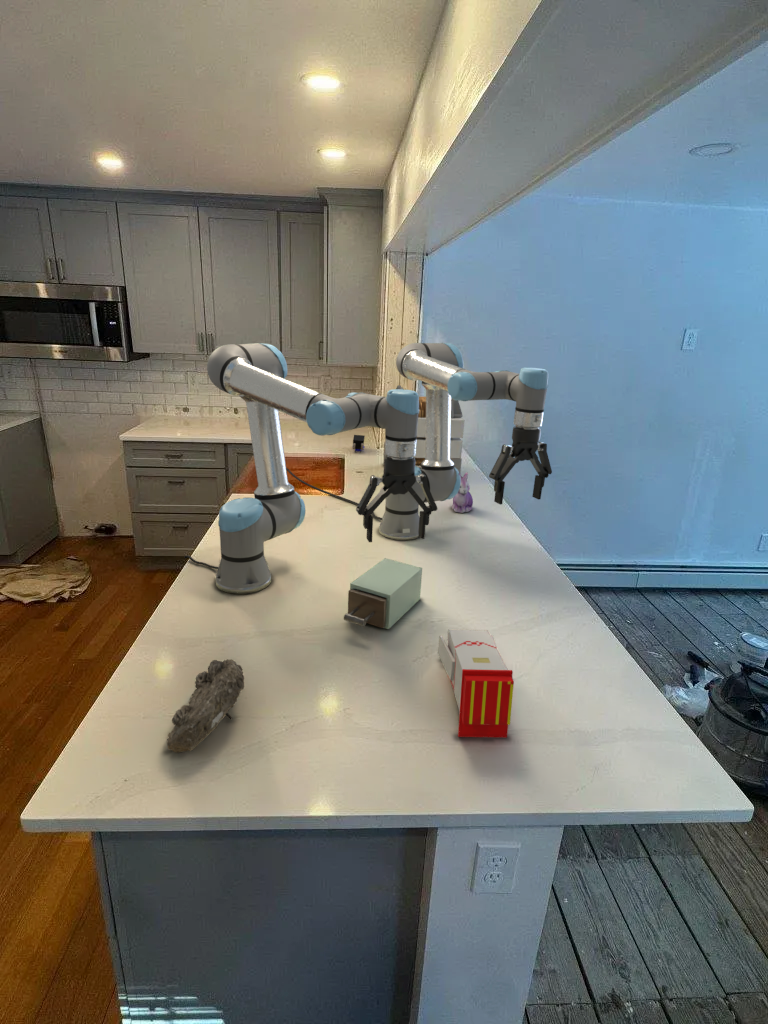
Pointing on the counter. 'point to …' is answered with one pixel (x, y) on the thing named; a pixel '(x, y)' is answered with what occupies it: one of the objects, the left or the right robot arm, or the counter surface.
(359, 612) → the drawer
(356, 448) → the figurine character
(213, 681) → the fossil
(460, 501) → the figurine
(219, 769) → the counter surface
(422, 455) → the white storage organizer
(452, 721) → the counter surface
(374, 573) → the cabinet
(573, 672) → the counter surface
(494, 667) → the toy
